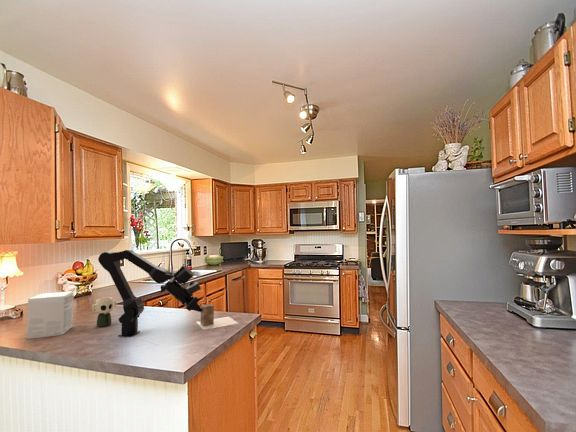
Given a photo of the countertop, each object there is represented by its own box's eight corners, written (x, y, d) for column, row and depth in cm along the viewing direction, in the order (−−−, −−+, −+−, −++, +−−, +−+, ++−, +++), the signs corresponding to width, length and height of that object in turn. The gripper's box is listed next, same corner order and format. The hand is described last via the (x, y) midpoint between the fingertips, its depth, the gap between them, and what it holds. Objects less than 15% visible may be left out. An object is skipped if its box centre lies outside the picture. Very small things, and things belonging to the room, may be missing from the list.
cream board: (203, 331, 129) (203, 329, 129) (196, 323, 141) (196, 322, 141) (238, 324, 138) (238, 323, 138) (228, 317, 150) (228, 316, 150)
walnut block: (203, 326, 133) (203, 307, 134) (200, 323, 137) (200, 304, 138) (213, 324, 136) (214, 305, 137) (210, 322, 140) (211, 303, 141)
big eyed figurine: (94, 329, 133) (95, 302, 134) (88, 327, 137) (89, 300, 138) (119, 323, 142) (119, 297, 143) (112, 321, 146) (113, 296, 147)
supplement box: (73, 326, 139) (74, 290, 140) (62, 335, 127) (64, 295, 128) (39, 330, 134) (41, 293, 135) (25, 339, 122) (27, 298, 123)
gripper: (194, 279, 126) (218, 301, 131) (186, 275, 142) (208, 294, 147) (175, 299, 121) (201, 321, 126) (169, 292, 137) (192, 312, 142)
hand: (201, 311), depth 136 cm, fingers closed
